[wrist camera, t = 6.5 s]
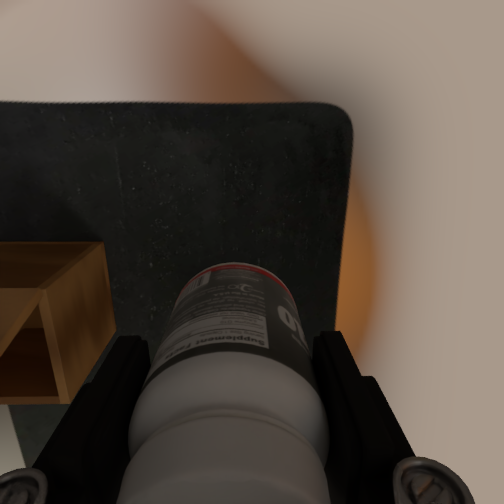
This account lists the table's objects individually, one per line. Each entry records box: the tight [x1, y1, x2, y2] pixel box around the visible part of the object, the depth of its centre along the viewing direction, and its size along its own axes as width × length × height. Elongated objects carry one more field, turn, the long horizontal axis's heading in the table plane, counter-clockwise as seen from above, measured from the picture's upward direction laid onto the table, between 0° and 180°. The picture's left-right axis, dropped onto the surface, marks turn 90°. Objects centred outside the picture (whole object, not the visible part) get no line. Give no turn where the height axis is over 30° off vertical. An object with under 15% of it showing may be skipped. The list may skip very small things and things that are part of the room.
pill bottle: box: [116, 262, 331, 504], centre depth 10 cm, size 5×5×8 cm
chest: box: [0, 242, 116, 404], centre depth 33 cm, size 11×11×11 cm
